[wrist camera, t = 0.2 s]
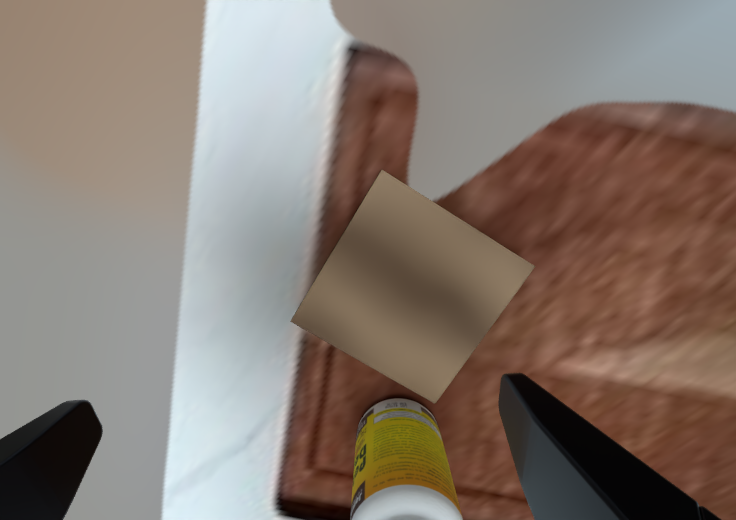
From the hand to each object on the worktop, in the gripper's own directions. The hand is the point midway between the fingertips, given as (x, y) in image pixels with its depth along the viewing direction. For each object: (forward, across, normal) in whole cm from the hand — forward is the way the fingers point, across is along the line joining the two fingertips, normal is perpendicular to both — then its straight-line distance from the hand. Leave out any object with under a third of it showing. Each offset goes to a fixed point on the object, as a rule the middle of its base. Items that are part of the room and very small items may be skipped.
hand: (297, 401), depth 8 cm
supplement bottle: (+12, -3, +15) cm, 20 cm away
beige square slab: (+14, -4, +5) cm, 16 cm away
